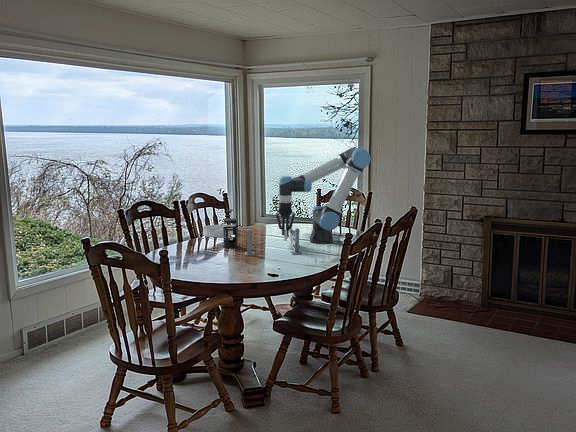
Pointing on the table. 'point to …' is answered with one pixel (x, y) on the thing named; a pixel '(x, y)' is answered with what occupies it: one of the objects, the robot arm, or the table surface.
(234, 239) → the french press
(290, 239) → the grey long flat block
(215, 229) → the dish
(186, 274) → the table surface
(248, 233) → the posts
